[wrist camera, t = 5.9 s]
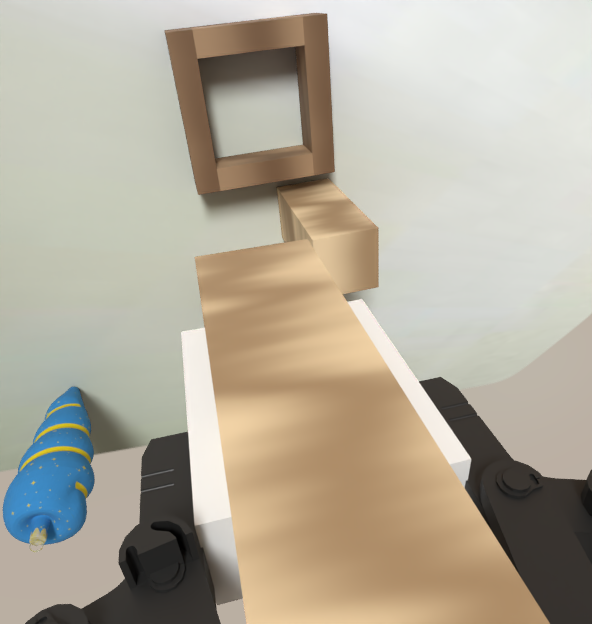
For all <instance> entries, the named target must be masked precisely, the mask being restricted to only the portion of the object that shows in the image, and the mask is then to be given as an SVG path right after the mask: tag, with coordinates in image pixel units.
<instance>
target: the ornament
mask: <svg viewBox="0 0 592 624" xmlns="http://www.w3.org/2000/svg"><path fill="white" fill-rule="evenodd" d="M90 433H91V423H90V420H89V417H88V414H87V412H86V409H85V407H84V404H83V401H82V398H81V394H80V390H79V389H78V388H77V387H71V388H69V389H68V391H66V392H65V393H64V394H63V395H61V396H60V397H59V398H57V399H56V400H55V401H54V402H53V403H52V404H51V406H50V407H49V409H48V410H47V413H46V416H45V421H44V422H43V423H42V425H41V426H40V427H39V429H38V430H37V432H36V434H35V437H34V440H33V445H31V447H30V448H29V449H28V450H27V452H26V453H25V455H24V456H23V458H22V460H21V462H20V465H19V468H18V474H17V475H16V477H15V478H14V480H13V481H12V483H11V484H10V486H9V488H8V490H7V493H6V495H5V499H4V504H3V518H4V522H5V525H6V528H7V530H8V531H9V532H10V534H11V535H12V536H13V537H15V538H16V539H18V540H20V541H22V542H25V543H29V544H30V545H31V544H32V545H35V546H38V545H46V544H53V543H58V542H61V541H64V540H66V539H68V538H70V537H72V536H73V535H75V534H76V533H77V532H78V531H79V530H80V529H81V528H82V526H83V524H84V522H85V519H86V514H87V510H86V508H87V506H86V498H87V497H88V496H89V494H90V493H91V491H92V489H93V486H94V473H93V469H92V467H91V465H90V464H91V462H92V459H93V454H94V450H93V446H92V443H91V441H90V439H89V436H90ZM41 549H42V548H41ZM41 549H40V550H41ZM30 550H31V549H30ZM40 550H38V551H40ZM31 551H32V550H31ZM38 551H33V552H38Z"/></svg>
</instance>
